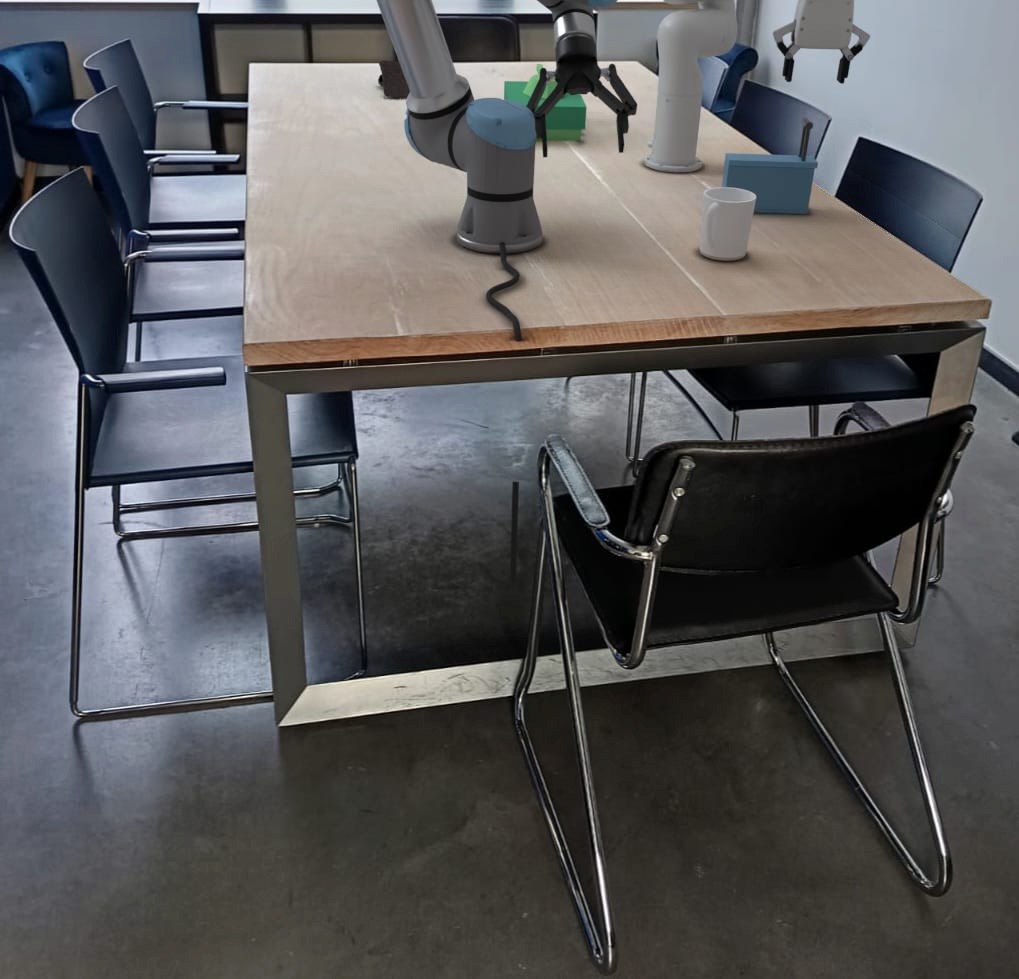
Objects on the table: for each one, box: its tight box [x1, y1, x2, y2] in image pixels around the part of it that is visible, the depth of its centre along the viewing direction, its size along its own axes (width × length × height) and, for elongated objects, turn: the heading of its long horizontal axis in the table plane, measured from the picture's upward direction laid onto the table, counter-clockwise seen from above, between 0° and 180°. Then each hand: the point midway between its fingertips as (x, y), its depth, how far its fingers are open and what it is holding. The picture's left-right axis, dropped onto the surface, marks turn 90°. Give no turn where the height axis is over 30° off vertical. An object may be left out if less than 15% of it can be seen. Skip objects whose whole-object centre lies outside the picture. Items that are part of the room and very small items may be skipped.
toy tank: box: [503, 63, 587, 142], centre depth 266 cm, size 18×12×35 cm
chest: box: [721, 158, 816, 215], centre depth 213 cm, size 16×5×9 cm, turn 88°
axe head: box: [377, 59, 410, 99], centre depth 299 cm, size 18×8×15 cm
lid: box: [724, 117, 819, 169], centre depth 208 cm, size 17×5×8 cm, turn 88°
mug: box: [699, 186, 756, 262], centre depth 189 cm, size 11×9×10 cm
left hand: (583, 151), depth 194 cm, fingers open, 13 cm apart
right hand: (813, 81), depth 202 cm, fingers open, 9 cm apart
